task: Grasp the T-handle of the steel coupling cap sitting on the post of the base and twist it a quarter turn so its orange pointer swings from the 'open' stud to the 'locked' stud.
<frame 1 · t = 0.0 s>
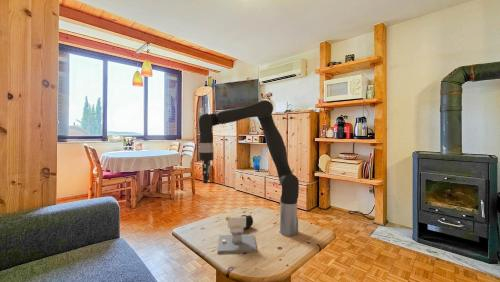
hand: (206, 181, 120), 29 cm above the table, fingers open, 8 cm apart
end cap: (242, 228, 131), on the table
coupling cap: (235, 224, 111), point 10 cm above the table, hinge at 0.0°
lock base: (236, 244, 112), on the table
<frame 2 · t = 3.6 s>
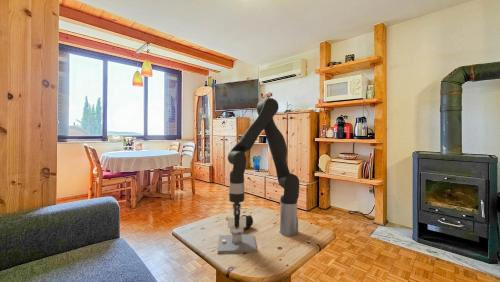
hand: (236, 225, 111), 9 cm above the table, fingers closed on coupling cap, 2 cm apart
coupling cap: (235, 224, 111), point 10 cm above the table, hinge at 0.0°, touching gripper
everything else where it was.
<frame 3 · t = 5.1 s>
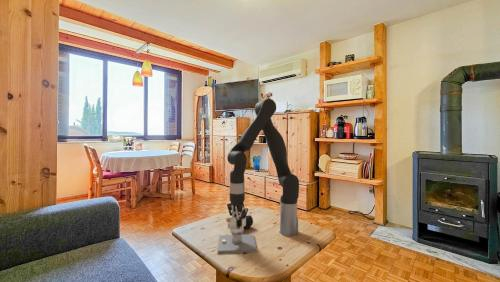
hand: (237, 225, 111), 9 cm above the table, fingers closed on coupling cap, 2 cm apart
coupling cap: (236, 224, 111), point 10 cm above the table, hinge at 22.8°, touching gripper
everything else where it was.
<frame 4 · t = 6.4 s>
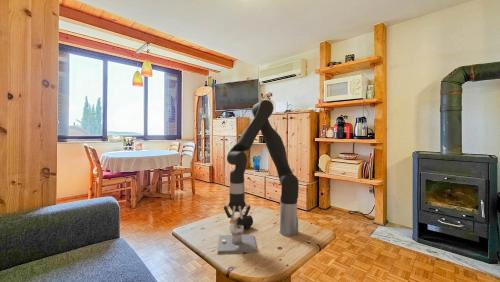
hand: (237, 225, 112), 9 cm above the table, fingers closed on coupling cap, 3 cm apart
coupling cap: (236, 224, 111), point 10 cm above the table, hinge at 61.0°, touching gripper
everything else where it was.
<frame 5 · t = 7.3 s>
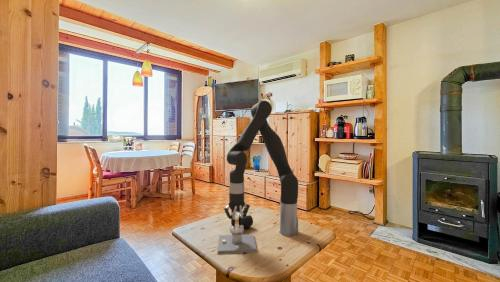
hand: (236, 225, 112), 9 cm above the table, fingers closed on coupling cap, 2 cm apart
coupling cap: (236, 224, 111), point 10 cm above the table, hinge at 88.5°, touching gripper
everything else where it was.
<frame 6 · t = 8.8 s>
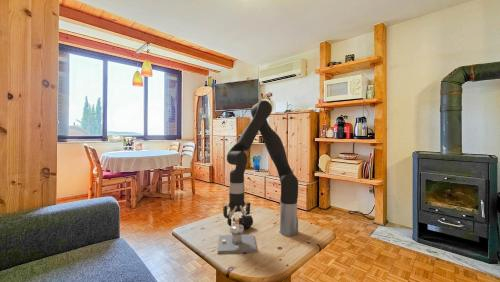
hand: (236, 224, 111), 10 cm above the table, fingers open, 6 cm apart
coupling cap: (236, 224, 111), point 10 cm above the table, hinge at 89.6°
everything else where it was.
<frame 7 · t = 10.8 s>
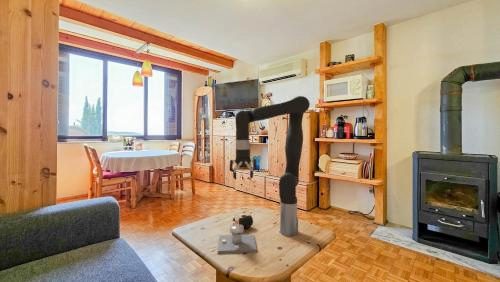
hand: (243, 178, 120), 31 cm above the table, fingers open, 8 cm apart
nothing on the table moved.
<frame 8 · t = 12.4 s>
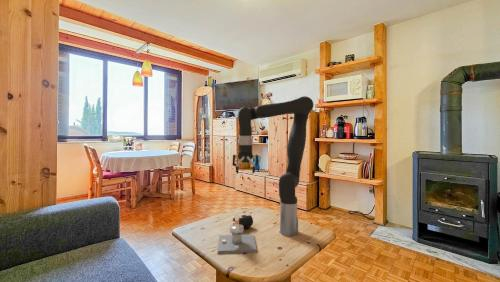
hand: (245, 173, 124), 33 cm above the table, fingers open, 8 cm apart
nothing on the table moved.
at the end: coupling cap at +90° (first picture: +0°); the gripper is holding nothing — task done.
